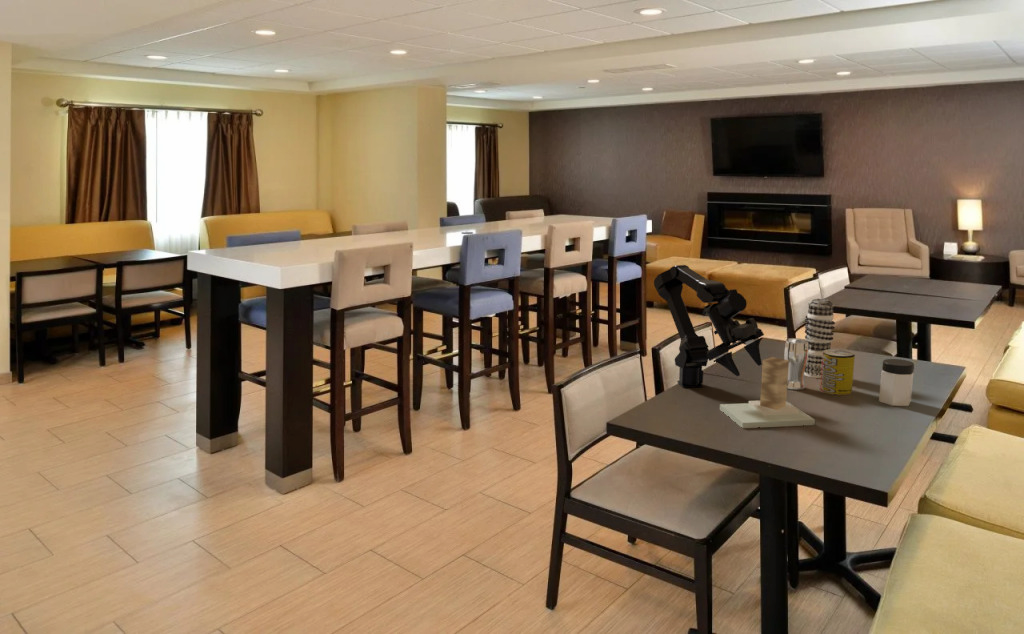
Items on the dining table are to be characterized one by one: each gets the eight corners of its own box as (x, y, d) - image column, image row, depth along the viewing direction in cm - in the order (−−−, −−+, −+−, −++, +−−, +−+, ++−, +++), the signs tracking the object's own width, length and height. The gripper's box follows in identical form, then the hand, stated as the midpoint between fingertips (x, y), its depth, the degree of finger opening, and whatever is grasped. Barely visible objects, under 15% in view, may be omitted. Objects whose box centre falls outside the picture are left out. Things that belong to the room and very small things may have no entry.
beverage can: (823, 385, 243) (826, 347, 241) (854, 389, 238) (857, 351, 236) (816, 392, 236) (819, 353, 233) (848, 396, 231) (851, 357, 228)
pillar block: (760, 405, 215) (762, 360, 212) (769, 401, 218) (772, 357, 216) (776, 409, 211) (779, 363, 209) (785, 405, 214) (788, 360, 212)
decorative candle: (795, 373, 256) (800, 299, 251) (813, 369, 261) (819, 296, 256) (818, 379, 248) (823, 303, 244) (837, 375, 253) (843, 300, 248)
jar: (918, 404, 223) (922, 364, 221) (898, 408, 220) (902, 367, 217) (891, 396, 231) (894, 357, 229) (871, 399, 228) (875, 360, 225)
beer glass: (807, 391, 236) (811, 343, 233) (783, 390, 238) (787, 342, 235) (803, 384, 243) (807, 338, 240) (780, 383, 244) (783, 337, 241)
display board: (742, 428, 204) (742, 419, 203) (719, 409, 219) (720, 401, 219) (814, 425, 206) (815, 416, 206) (786, 406, 222) (787, 398, 221)
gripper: (717, 322, 215) (744, 372, 211) (762, 303, 224) (789, 351, 220) (694, 336, 224) (720, 384, 221) (738, 317, 233) (764, 363, 230)
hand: (749, 370), depth 223 cm, fingers open, 9 cm apart
